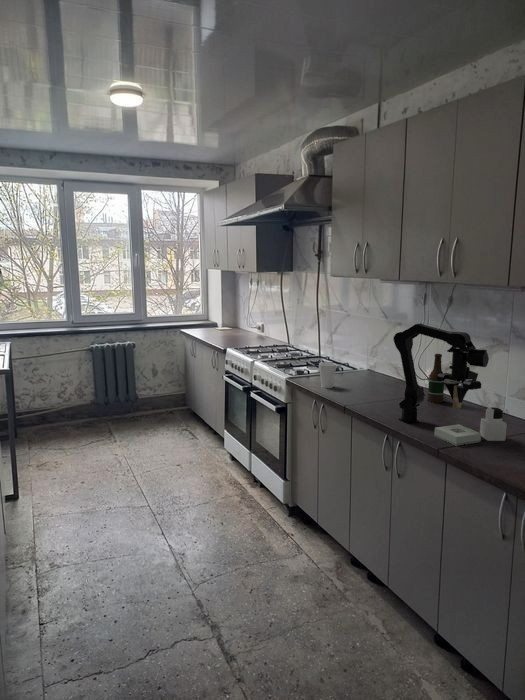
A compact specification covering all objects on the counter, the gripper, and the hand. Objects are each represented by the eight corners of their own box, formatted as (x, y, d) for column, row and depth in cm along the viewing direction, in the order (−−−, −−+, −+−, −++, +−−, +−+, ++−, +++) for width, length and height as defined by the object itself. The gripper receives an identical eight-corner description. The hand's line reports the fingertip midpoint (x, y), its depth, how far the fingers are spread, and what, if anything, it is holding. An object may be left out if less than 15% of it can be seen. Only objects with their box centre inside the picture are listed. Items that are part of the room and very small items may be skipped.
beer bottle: (424, 401, 255) (427, 354, 251) (431, 398, 261) (434, 352, 257) (439, 404, 250) (442, 356, 246) (446, 401, 256) (449, 354, 252)
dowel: (450, 407, 209) (452, 385, 207) (456, 406, 210) (458, 384, 208) (456, 409, 206) (458, 387, 204) (462, 408, 207) (464, 386, 205)
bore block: (434, 436, 204) (434, 427, 203) (458, 432, 208) (458, 424, 208) (455, 445, 193) (456, 437, 192) (480, 442, 197) (481, 433, 197)
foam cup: (331, 384, 290) (331, 361, 288) (338, 388, 282) (339, 365, 279) (315, 385, 287) (316, 362, 285) (322, 389, 279) (323, 366, 276)
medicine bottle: (496, 434, 206) (499, 406, 204) (505, 441, 199) (508, 411, 197) (479, 435, 205) (481, 406, 203) (487, 441, 198) (490, 411, 196)
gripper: (493, 366, 199) (490, 405, 202) (457, 358, 216) (455, 394, 219) (471, 368, 195) (468, 408, 198) (437, 360, 212) (435, 397, 214)
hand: (457, 401), depth 207 cm, fingers closed on dowel, 3 cm apart
